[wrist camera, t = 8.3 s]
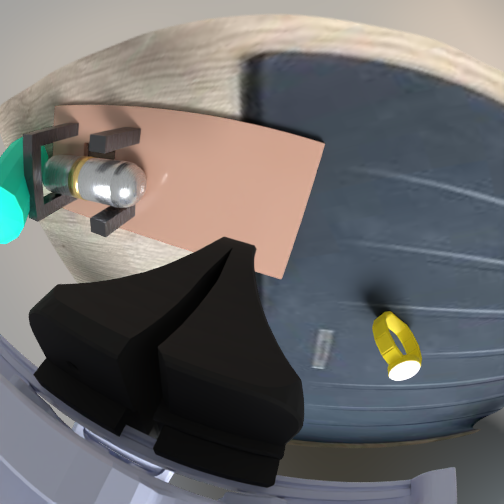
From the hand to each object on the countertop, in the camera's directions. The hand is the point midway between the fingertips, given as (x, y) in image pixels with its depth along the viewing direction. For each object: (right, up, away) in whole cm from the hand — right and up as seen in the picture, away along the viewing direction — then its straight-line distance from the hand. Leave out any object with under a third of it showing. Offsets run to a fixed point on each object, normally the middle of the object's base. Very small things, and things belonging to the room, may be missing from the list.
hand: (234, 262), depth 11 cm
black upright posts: (-13, +8, +10) cm, 18 cm away
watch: (+14, -6, +12) cm, 19 cm away
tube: (-13, +8, +10) cm, 18 cm away
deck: (-8, +7, +10) cm, 14 cm away
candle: (-24, +10, +10) cm, 28 cm away
